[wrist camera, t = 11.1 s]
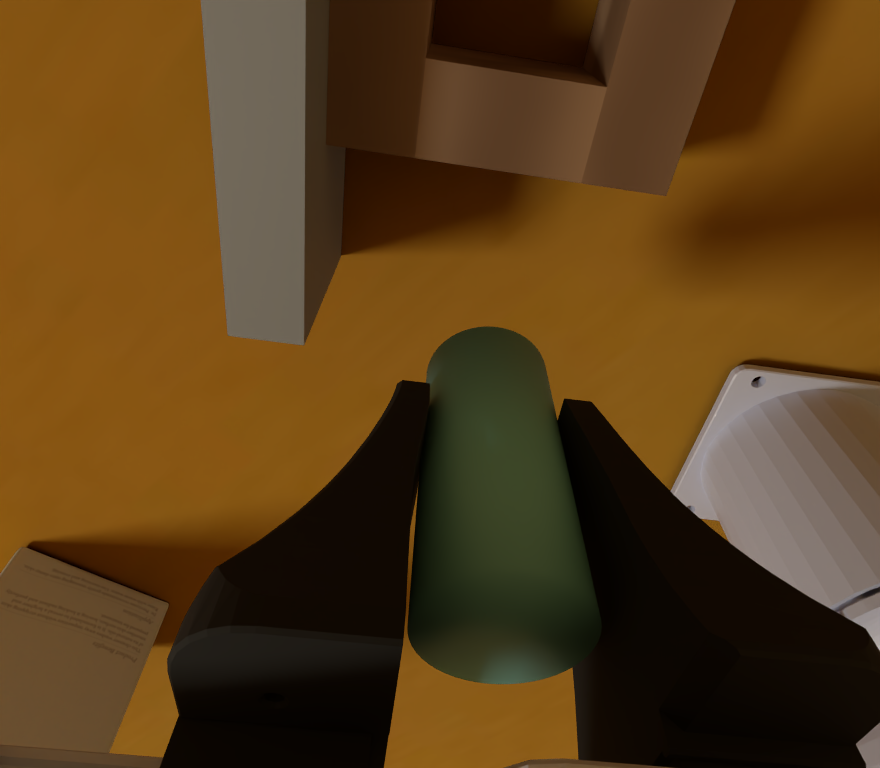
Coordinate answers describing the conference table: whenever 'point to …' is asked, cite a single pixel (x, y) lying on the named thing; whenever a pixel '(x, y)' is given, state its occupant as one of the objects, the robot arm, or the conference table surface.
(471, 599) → the dowel
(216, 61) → the backstop wall
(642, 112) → the hole block
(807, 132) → the conference table surface
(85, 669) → the skincare box
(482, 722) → the conference table surface
